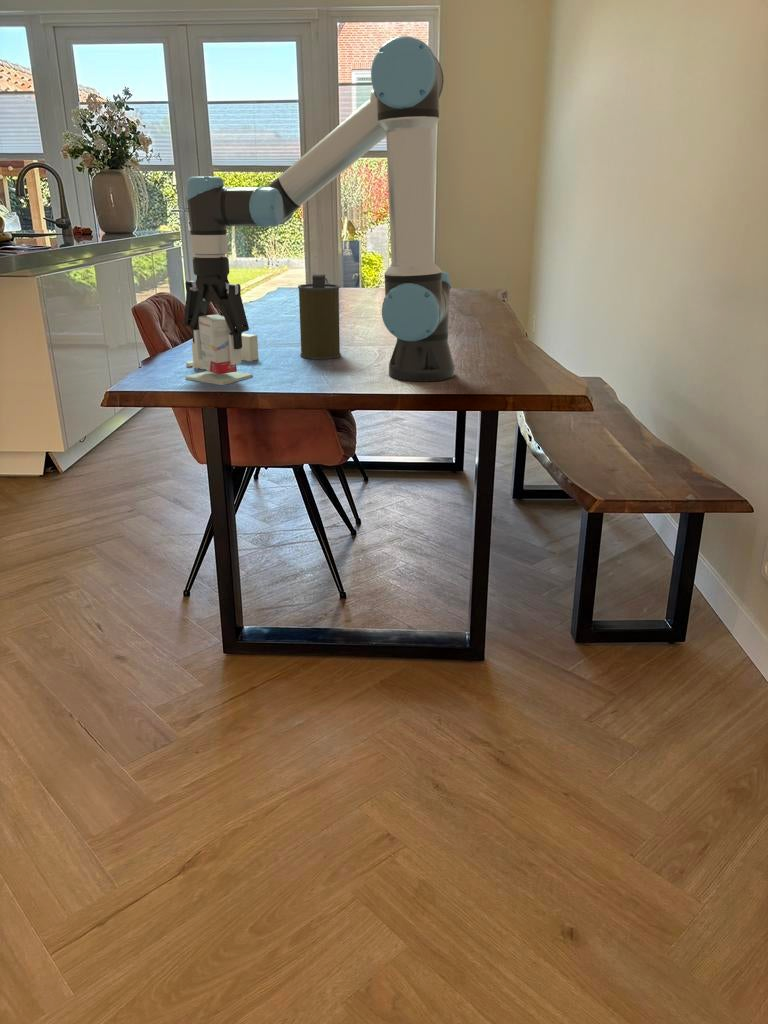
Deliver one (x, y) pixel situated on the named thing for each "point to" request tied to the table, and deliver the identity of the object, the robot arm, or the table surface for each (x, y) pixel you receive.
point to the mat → (219, 377)
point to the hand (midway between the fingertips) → (218, 361)
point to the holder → (247, 350)
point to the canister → (319, 319)
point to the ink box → (215, 344)
